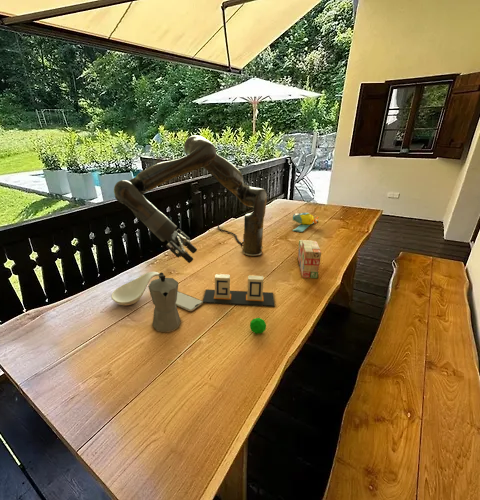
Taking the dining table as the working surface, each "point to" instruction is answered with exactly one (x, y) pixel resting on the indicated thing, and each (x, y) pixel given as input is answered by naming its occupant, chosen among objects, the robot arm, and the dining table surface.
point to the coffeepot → (164, 303)
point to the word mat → (239, 299)
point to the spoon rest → (132, 290)
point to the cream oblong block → (222, 286)
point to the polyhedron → (257, 325)
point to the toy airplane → (304, 221)
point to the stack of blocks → (309, 258)
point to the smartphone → (187, 301)
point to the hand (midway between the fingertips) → (193, 256)
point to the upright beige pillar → (255, 287)
